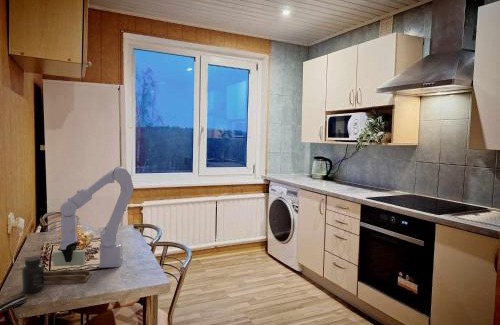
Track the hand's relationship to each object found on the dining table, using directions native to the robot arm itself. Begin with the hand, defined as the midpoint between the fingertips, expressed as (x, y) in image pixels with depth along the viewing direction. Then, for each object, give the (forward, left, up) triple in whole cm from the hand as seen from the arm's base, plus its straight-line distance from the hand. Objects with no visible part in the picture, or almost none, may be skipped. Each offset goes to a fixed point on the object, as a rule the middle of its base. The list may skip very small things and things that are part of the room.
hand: (69, 260), depth 147 cm
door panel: (0, 0, -2) cm, 2 cm away
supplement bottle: (+6, +20, -4) cm, 21 cm away
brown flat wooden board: (-2, +11, -4) cm, 12 cm away
